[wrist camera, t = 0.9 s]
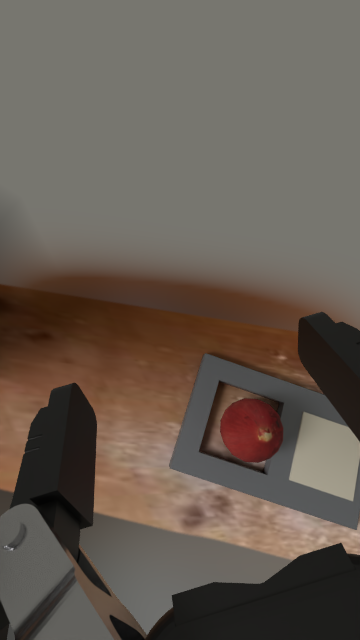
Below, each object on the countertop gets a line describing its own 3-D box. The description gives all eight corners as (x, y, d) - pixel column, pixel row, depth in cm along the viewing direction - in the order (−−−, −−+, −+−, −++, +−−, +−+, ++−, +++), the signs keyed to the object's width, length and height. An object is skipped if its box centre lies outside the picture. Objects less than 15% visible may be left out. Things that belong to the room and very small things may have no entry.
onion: (254, 390, 34) (287, 390, 26) (272, 443, 33) (313, 458, 25) (205, 407, 33) (225, 412, 25) (223, 462, 32) (249, 484, 24)
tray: (169, 465, 31) (170, 468, 30) (203, 354, 34) (205, 353, 33) (348, 525, 32) (358, 531, 31) (366, 411, 35) (375, 412, 34)
